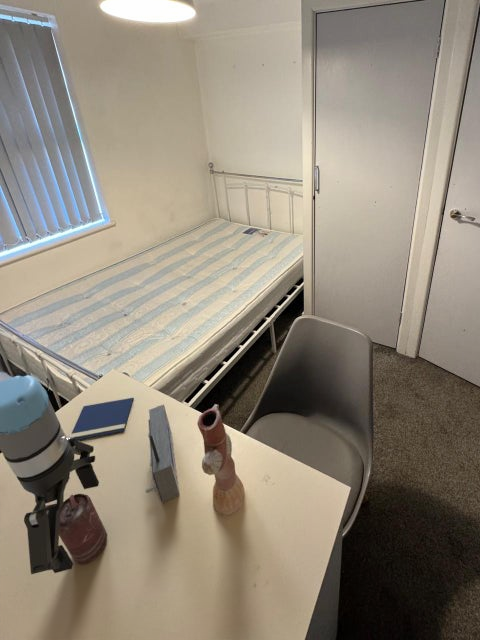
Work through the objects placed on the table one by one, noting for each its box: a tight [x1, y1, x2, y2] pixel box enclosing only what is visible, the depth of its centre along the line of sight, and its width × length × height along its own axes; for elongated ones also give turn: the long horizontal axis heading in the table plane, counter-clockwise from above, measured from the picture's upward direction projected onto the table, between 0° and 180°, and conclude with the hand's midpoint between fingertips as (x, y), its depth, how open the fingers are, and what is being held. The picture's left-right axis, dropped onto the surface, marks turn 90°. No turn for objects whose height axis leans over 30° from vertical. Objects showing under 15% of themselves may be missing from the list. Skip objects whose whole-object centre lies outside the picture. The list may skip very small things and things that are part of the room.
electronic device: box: [145, 404, 180, 503], centre depth 77 cm, size 17×7×20 cm, turn 26°
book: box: [68, 397, 135, 442], centre depth 93 cm, size 14×11×1 cm
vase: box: [196, 403, 245, 516], centre depth 68 cm, size 10×7×30 cm
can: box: [59, 493, 108, 565], centre depth 64 cm, size 6×6×14 cm
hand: (79, 523), depth 63 cm, fingers open, 13 cm apart
